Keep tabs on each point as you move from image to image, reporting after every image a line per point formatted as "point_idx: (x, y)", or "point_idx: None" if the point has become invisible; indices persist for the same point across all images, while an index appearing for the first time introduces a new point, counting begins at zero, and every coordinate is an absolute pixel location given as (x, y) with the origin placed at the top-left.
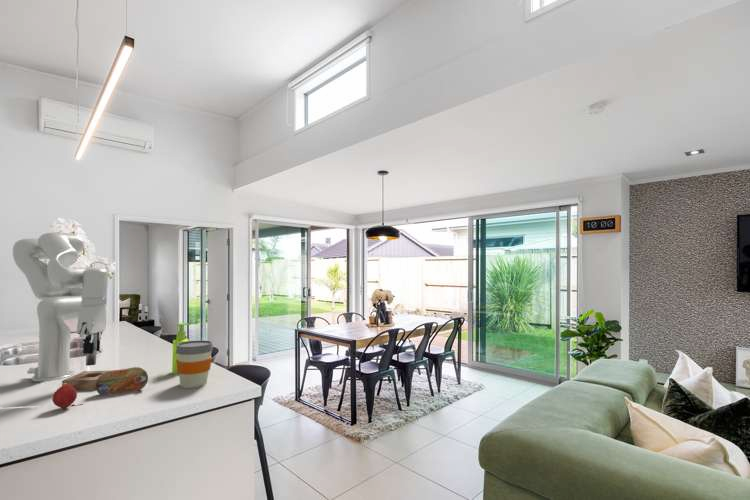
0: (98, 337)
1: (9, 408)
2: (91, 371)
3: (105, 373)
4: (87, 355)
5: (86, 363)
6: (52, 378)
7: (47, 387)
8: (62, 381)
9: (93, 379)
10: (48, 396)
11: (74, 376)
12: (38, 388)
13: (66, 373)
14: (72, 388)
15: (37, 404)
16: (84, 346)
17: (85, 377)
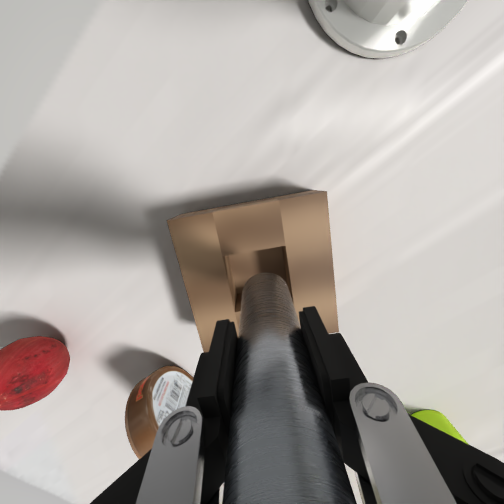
0: (360, 490)
1: (7, 177)
2: (321, 232)
3: (137, 445)
4: (240, 324)
5: (242, 292)
6: (323, 12)
7: (232, 89)
8: (168, 221)
9: (201, 331)
10: (135, 203)
11: (234, 219)
12: (215, 57)
13: (400, 21)
14: (15, 408)
15: (63, 237)
16: (210, 367)
17: (224, 281)
